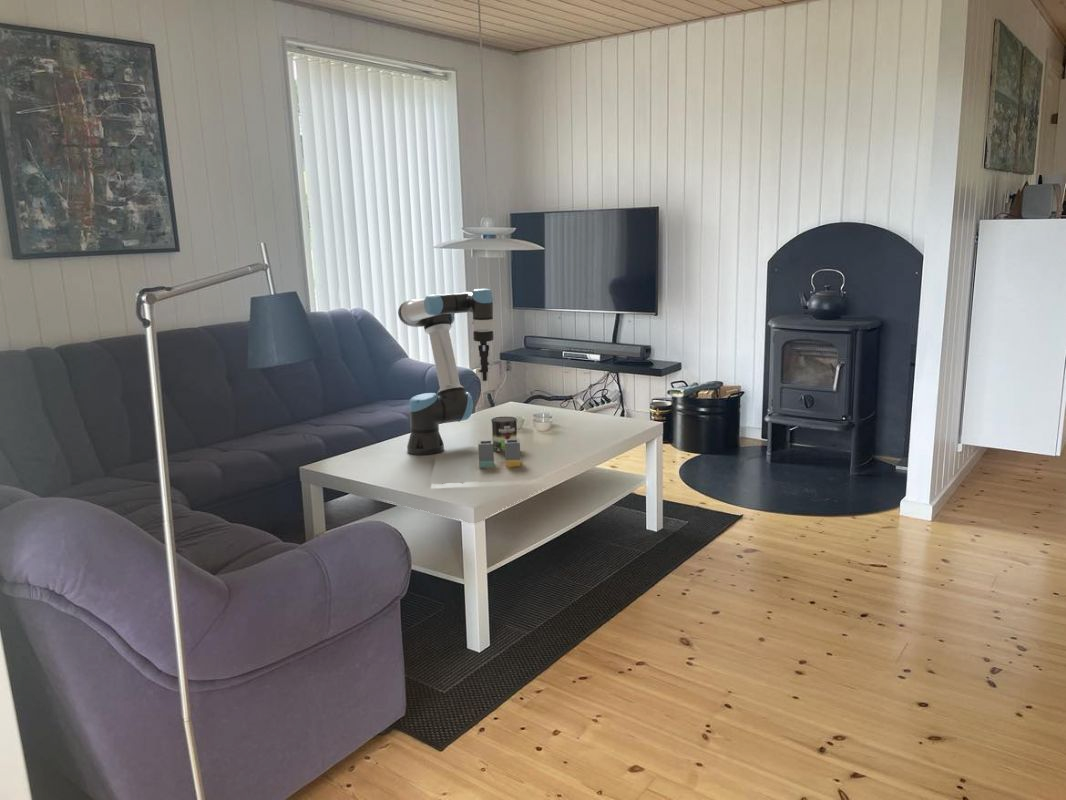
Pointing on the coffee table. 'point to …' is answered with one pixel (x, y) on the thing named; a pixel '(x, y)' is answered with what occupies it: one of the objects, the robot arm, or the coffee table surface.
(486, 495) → the coffee table surface
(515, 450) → the sleeve ochre
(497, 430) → the coffee can
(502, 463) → the pin board
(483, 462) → the sleeve teal
